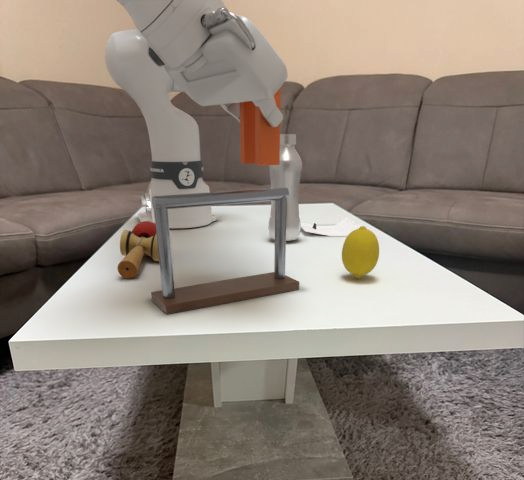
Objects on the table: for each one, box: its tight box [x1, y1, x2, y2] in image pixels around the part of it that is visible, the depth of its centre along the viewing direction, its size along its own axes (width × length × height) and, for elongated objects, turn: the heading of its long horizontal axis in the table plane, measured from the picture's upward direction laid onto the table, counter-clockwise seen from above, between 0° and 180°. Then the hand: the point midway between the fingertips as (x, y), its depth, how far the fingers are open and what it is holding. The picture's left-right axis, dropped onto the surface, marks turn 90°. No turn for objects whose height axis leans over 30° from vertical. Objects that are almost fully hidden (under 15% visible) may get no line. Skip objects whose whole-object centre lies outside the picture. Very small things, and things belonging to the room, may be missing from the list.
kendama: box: [116, 221, 159, 279], centre depth 77 cm, size 8×6×18 cm
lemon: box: [341, 225, 380, 279], centre depth 69 cm, size 6×6×8 cm
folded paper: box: [300, 216, 362, 237], centre depth 103 cm, size 12×12×2 cm
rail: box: [150, 187, 300, 315], centre depth 61 cm, size 6×20×14 cm, turn 120°
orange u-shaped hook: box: [239, 86, 282, 167], centre depth 59 cm, size 5×3×9 cm, turn 30°
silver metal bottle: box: [267, 133, 303, 242], centre depth 90 cm, size 6×7×20 cm
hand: (263, 123), depth 59 cm, fingers closed on orange u-shaped hook, 5 cm apart
